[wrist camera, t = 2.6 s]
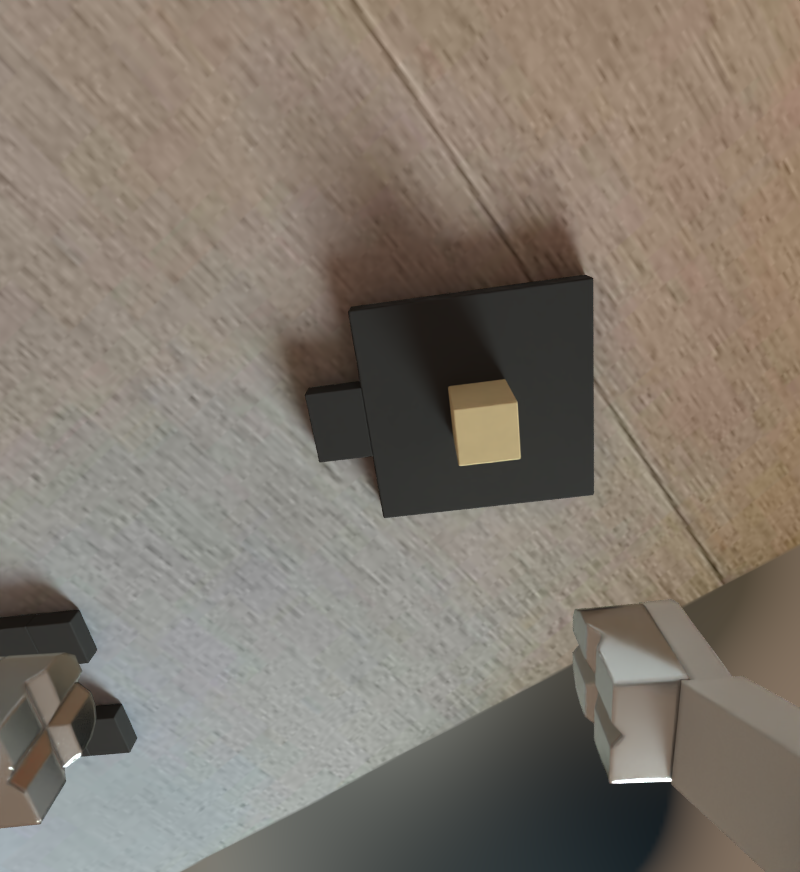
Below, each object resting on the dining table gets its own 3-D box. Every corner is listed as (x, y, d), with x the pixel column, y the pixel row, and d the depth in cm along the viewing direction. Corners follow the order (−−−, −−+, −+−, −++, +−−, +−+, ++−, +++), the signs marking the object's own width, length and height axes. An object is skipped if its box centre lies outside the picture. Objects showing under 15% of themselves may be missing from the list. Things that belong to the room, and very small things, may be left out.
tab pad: (586, 274, 28) (619, 287, 23) (588, 485, 32) (615, 529, 28) (293, 314, 29) (272, 334, 24) (335, 513, 33) (323, 560, 29)
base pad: (79, 609, 37) (69, 621, 35) (137, 738, 41) (130, 752, 40) (-91, 626, 37) (-106, 639, 36) (-15, 751, 42) (-27, 766, 41)
